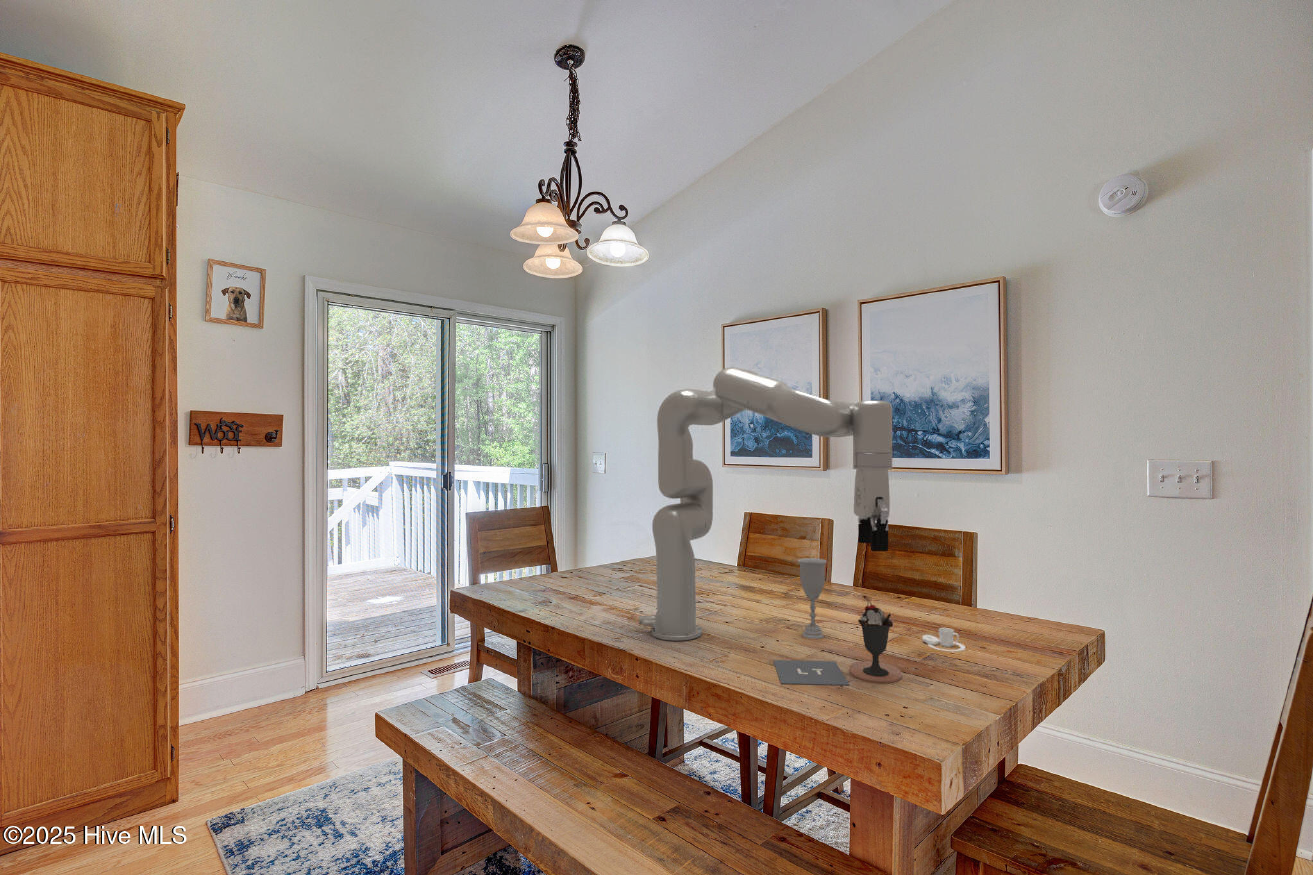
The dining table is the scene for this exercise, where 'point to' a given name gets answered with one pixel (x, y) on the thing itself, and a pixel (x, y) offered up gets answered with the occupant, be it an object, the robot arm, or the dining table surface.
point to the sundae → (875, 636)
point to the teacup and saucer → (943, 639)
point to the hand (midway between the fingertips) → (872, 546)
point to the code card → (809, 672)
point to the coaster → (858, 673)
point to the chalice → (812, 590)
